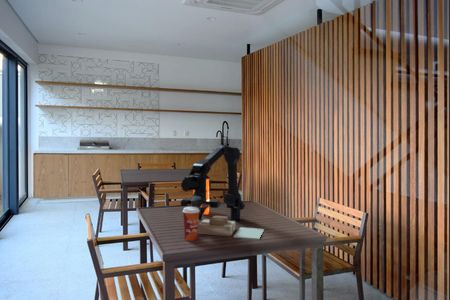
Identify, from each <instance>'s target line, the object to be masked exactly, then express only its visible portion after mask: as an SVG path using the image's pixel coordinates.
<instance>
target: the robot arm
mask: <svg viewBox="0 0 450 300" xmlns="http://www.w3.org/2000/svg"><path fill="white" fill-rule="evenodd" d="M222 156H224V160H225V162H226V164H227V186H228V190H227V192H226V193H224V202H225V205H226V208H228V209H230V210H229V211H230V215H229V217H228V221H238V222H241V221H242V219H243V216H242V215H241V213H242V211H243V210H244V209H245V203H244V202H243V200H242V196H241V193H240V192H239V190H238V189H239V188H238V163H239V160H240V157H241V151H240V149H239V147H231V146H227V145H225V144H223V145H222V144H221V145H220V144H219V145H217V146H216V148H215V149H214V150H212V151H211V152H210V153H208V155H207V156H206V157H205V158H203V159H200V160H198V161H196V162H195V163H194V164H192V168H191V170H190V172H189V174H188V175H187V176H184V179H183V180H182V181H181V184H180V185H181V189H182V191H183V192H190V191H193V190H195V191H194V195H193V196H192V197H191V198H189V197H188V198H186V197H185V198H183V199H181V200H180V207H188V205H190V207H197V208H198V209H199V211H200V212H199V220H198V221H201V222H202V221H203V218H204V215H205V214H204V212H205V210H206V209H207V208H208V207H209V208H215V209H217V208H219V207H220V206H221V201H220V200H219V199H211V200H209V201H207V198H206V192H207V190H206V179H209V180H210V177H209V175H208V173H210V171H211V169H212V166H213V165H214V164H215V163H216V162H217V161H218V160H219V159H220V158H221V157H222ZM201 205H202V207H201ZM208 205H209V206H208Z"/></svg>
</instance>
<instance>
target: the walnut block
mask: <svg viewBox="0 0 450 300" xmlns="http://www.w3.org/2000/svg"><path fill="white" fill-rule="evenodd" d="M228 221H229V216H228V215H225V216H224V215H213V216H212V217H211V218H210V220H209V225H214V226H224V225H225V224H226V223H227V222H228Z"/></svg>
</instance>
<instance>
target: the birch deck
mask: <svg viewBox="0 0 450 300" xmlns="http://www.w3.org/2000/svg"><path fill="white" fill-rule="evenodd" d="M210 219H211V218H210ZM210 219H209V218H208V219H207V218H204V219H202V220H201V222H198V234H200V235H211V236H212V235H213V236H225V237H230V236H232V235H233V233H234V231H236V227H237V226H236V221H234V220H228V222H227V223H226V224H225V225H224V226H214V225H209V220H210Z"/></svg>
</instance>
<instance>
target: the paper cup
mask: <svg viewBox="0 0 450 300" xmlns="http://www.w3.org/2000/svg"><path fill="white" fill-rule="evenodd" d="M182 209H183V210H182V213H183V215H182V216H183V230H184V240H185V241H187V242H188V241H189V242H195V241H197V240H198V224H199V221H200V220H199V212H200V211H199V209H198V208H197V207H192V206H184V208H182Z"/></svg>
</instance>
